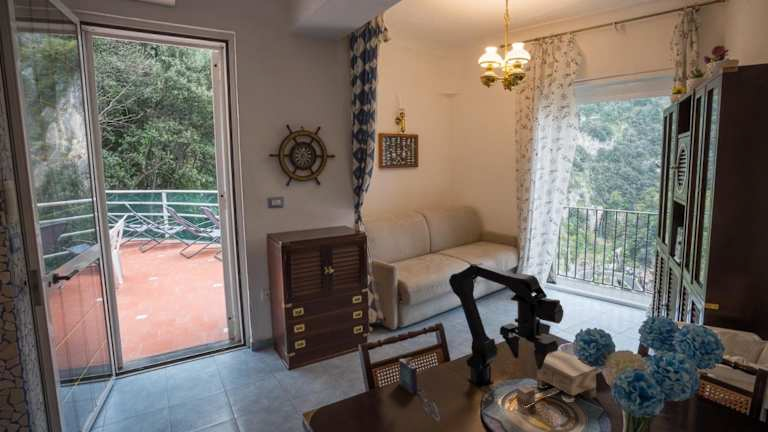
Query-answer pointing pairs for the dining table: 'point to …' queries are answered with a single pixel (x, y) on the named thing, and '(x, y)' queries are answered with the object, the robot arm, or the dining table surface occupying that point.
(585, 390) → the wooden crate
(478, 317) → the robot arm
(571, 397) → the steel token
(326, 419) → the dining table surface
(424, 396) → the throwing knife
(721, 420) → the dining table surface
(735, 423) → the dining table surface
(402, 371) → the flask
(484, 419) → the dining table surface
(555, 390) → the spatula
